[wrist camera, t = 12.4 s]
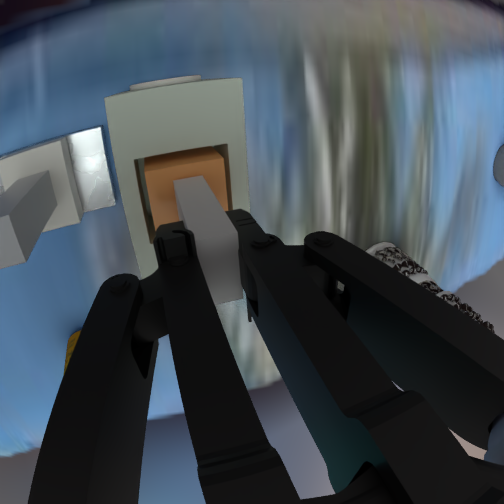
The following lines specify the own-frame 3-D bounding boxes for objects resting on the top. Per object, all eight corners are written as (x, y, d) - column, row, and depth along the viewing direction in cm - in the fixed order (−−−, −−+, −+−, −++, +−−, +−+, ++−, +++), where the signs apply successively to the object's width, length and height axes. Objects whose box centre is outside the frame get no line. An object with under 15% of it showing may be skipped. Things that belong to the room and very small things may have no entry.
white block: (142, 219, 29) (147, 295, 20) (120, 87, 23) (103, 90, 13) (214, 205, 31) (253, 272, 21) (202, 75, 25) (241, 70, 15)
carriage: (26, 228, 24) (-15, 302, 15) (5, 155, 20) (-58, 202, 11) (83, 213, 26) (59, 286, 17) (65, 136, 22) (20, 172, 13)
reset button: (154, 208, 21) (158, 243, 17) (144, 151, 19) (144, 172, 15) (211, 197, 22) (230, 228, 18) (205, 140, 20) (223, 158, 16)
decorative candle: (372, 230, 39) (523, 363, 19) (410, 249, 44) (535, 361, 23) (336, 288, 42) (456, 436, 22) (377, 300, 47) (483, 421, 26)
